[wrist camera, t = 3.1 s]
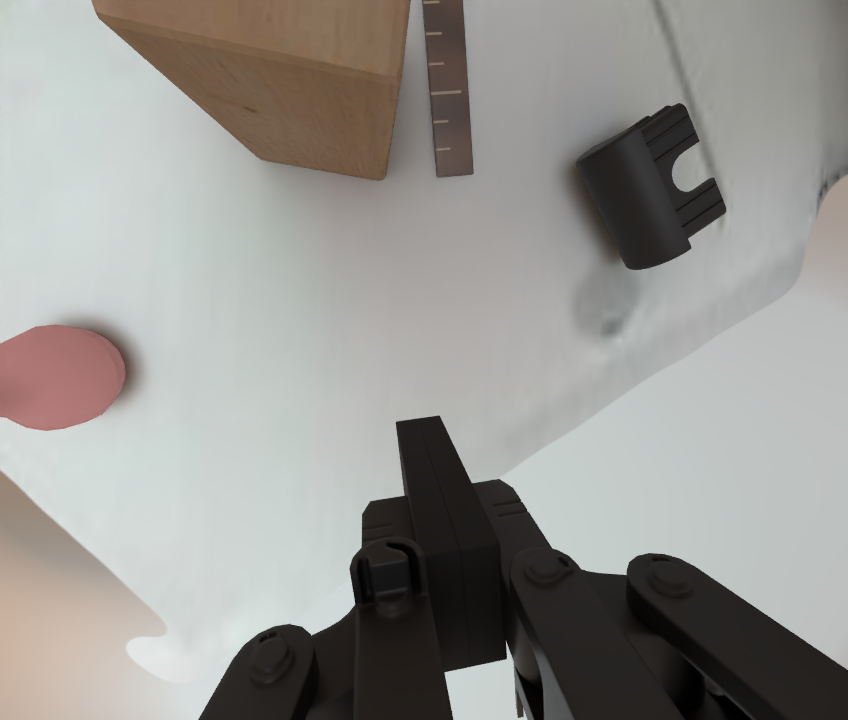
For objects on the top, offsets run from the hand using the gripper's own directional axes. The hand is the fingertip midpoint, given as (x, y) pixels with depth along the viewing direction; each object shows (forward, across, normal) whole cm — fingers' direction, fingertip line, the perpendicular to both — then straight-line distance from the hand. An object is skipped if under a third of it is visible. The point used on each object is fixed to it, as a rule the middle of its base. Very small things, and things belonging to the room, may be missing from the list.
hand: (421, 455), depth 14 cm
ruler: (+23, +7, +23) cm, 33 cm away
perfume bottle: (+24, -25, 0) cm, 34 cm away
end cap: (+23, +22, +10) cm, 33 cm away
